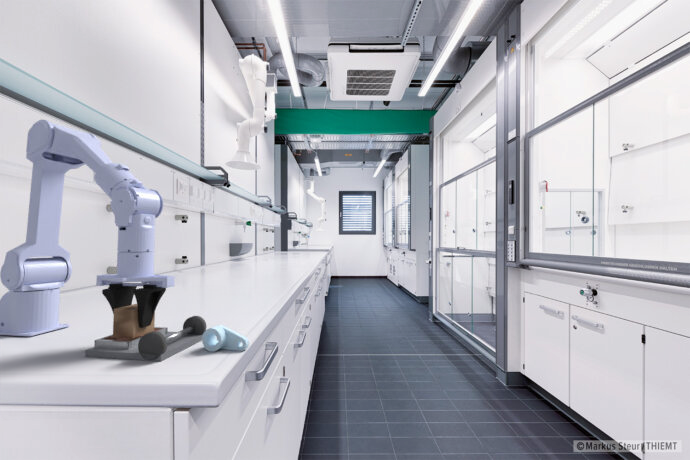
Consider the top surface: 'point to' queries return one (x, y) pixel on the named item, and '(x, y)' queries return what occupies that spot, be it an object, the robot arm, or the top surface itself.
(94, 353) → the chassis
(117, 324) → the block
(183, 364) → the top surface
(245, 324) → the top surface
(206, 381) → the top surface
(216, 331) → the mechanical part
